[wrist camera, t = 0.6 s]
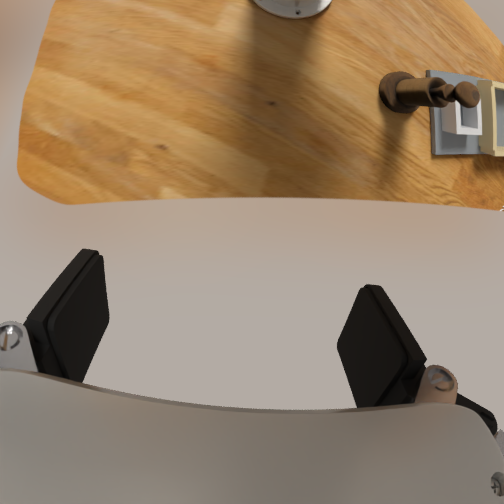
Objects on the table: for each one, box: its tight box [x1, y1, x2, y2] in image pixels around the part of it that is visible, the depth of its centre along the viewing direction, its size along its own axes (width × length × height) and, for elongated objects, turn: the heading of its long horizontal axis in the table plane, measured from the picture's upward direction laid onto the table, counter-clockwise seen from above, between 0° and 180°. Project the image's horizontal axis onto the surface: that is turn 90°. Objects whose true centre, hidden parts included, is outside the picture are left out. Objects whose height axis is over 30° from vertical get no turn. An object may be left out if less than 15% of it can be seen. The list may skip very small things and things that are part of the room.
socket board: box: [426, 70, 504, 156], centre depth 36 cm, size 14×24×5 cm, turn 99°
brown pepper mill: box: [379, 72, 480, 113], centre depth 30 cm, size 7×6×18 cm
